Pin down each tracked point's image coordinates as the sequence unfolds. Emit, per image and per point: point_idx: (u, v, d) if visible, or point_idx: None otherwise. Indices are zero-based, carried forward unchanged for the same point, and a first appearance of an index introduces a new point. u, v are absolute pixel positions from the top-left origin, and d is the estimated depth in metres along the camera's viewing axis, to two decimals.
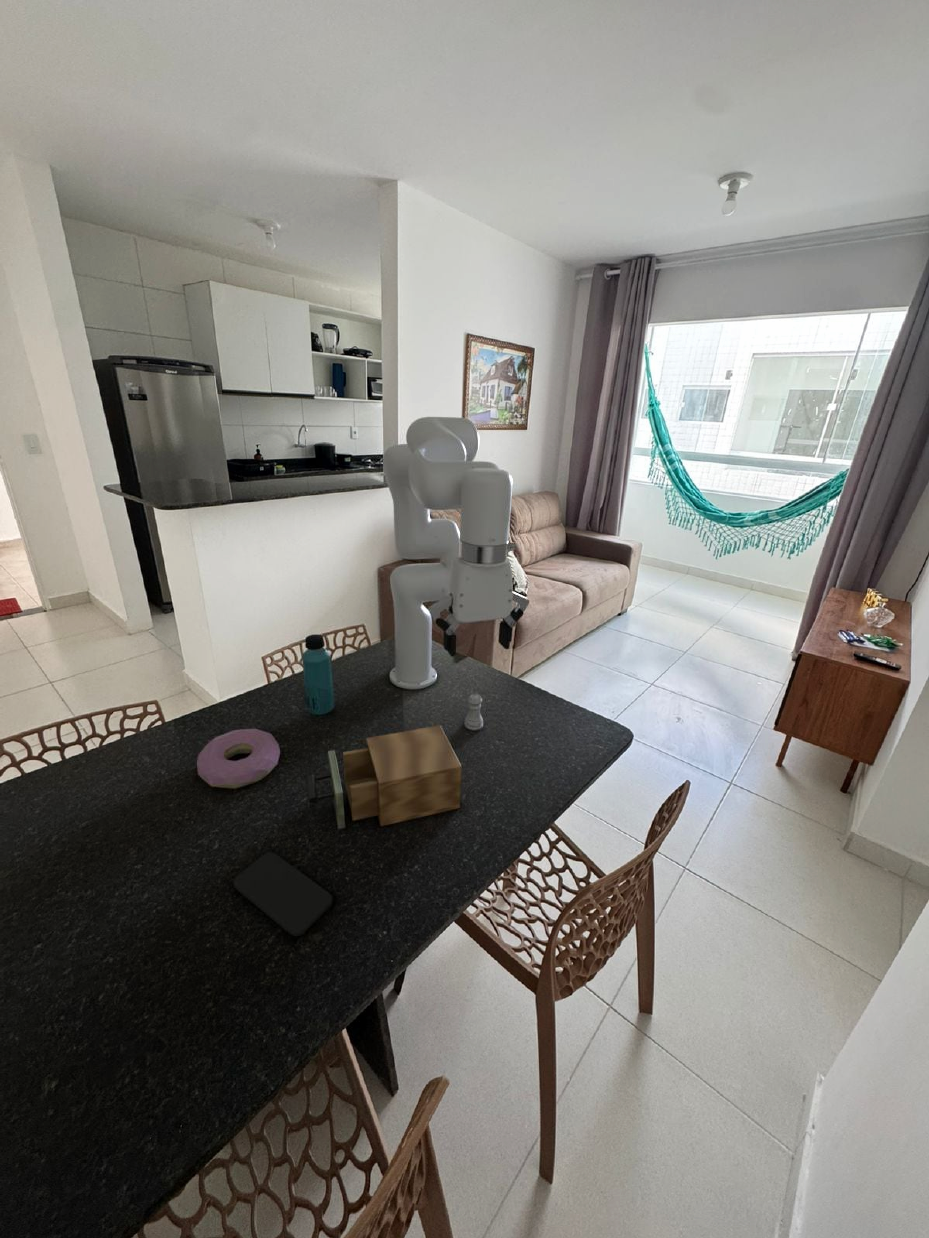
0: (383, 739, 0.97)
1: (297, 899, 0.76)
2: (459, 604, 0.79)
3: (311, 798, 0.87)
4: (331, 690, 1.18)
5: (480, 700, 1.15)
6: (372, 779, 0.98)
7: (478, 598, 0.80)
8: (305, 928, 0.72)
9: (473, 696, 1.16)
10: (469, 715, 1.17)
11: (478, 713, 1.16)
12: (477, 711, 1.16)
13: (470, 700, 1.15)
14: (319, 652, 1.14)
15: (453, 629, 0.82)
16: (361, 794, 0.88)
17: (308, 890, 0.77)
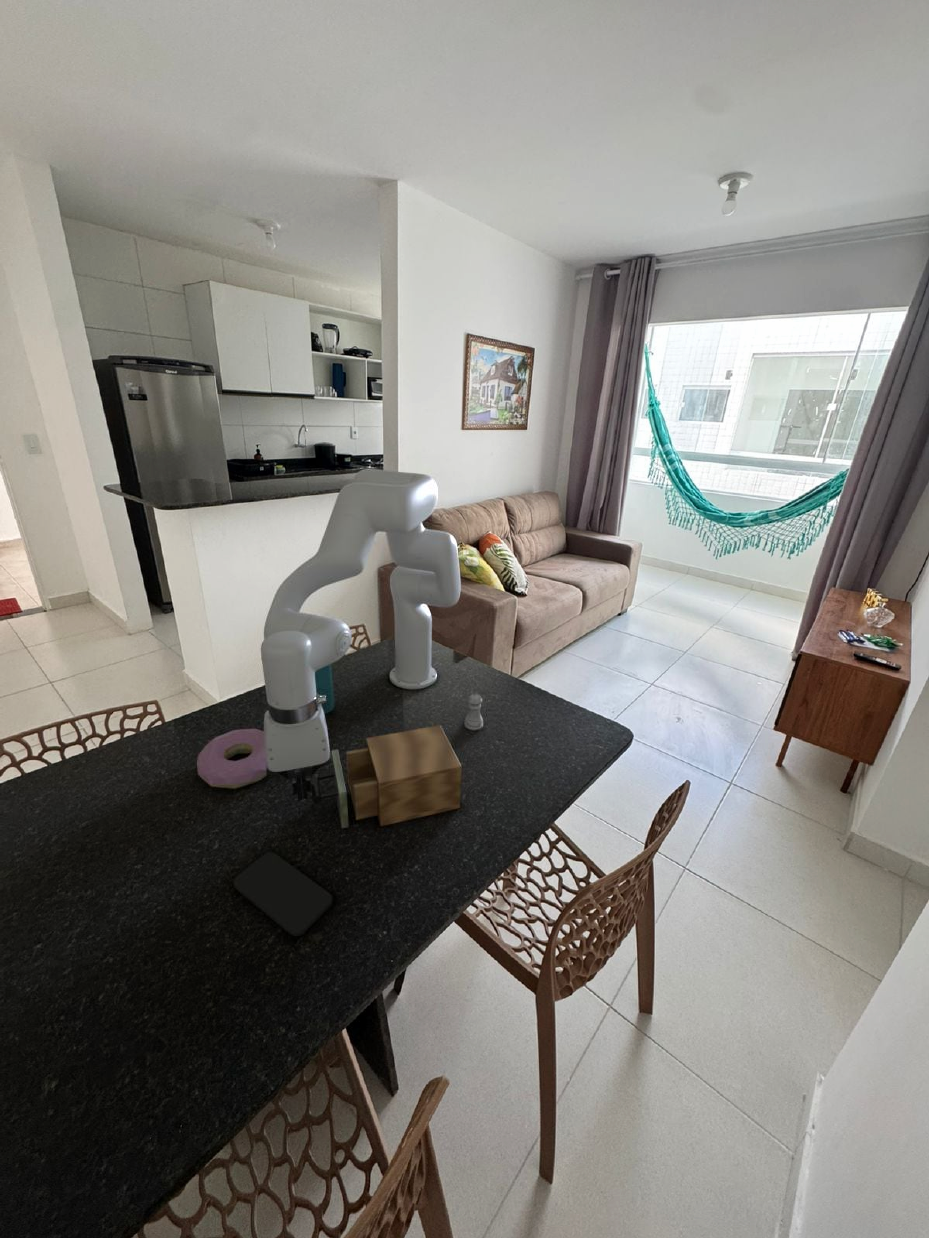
0: (383, 739, 0.97)
1: (297, 899, 0.76)
2: (269, 757, 0.82)
3: (315, 797, 0.87)
4: (331, 690, 1.18)
5: (480, 700, 1.15)
6: (375, 778, 0.98)
7: (288, 751, 0.82)
8: (305, 928, 0.72)
9: (473, 696, 1.16)
10: (469, 715, 1.17)
11: (478, 713, 1.16)
12: (477, 711, 1.16)
13: (470, 700, 1.15)
14: None
15: (297, 778, 0.86)
16: (364, 793, 0.88)
17: (308, 890, 0.77)
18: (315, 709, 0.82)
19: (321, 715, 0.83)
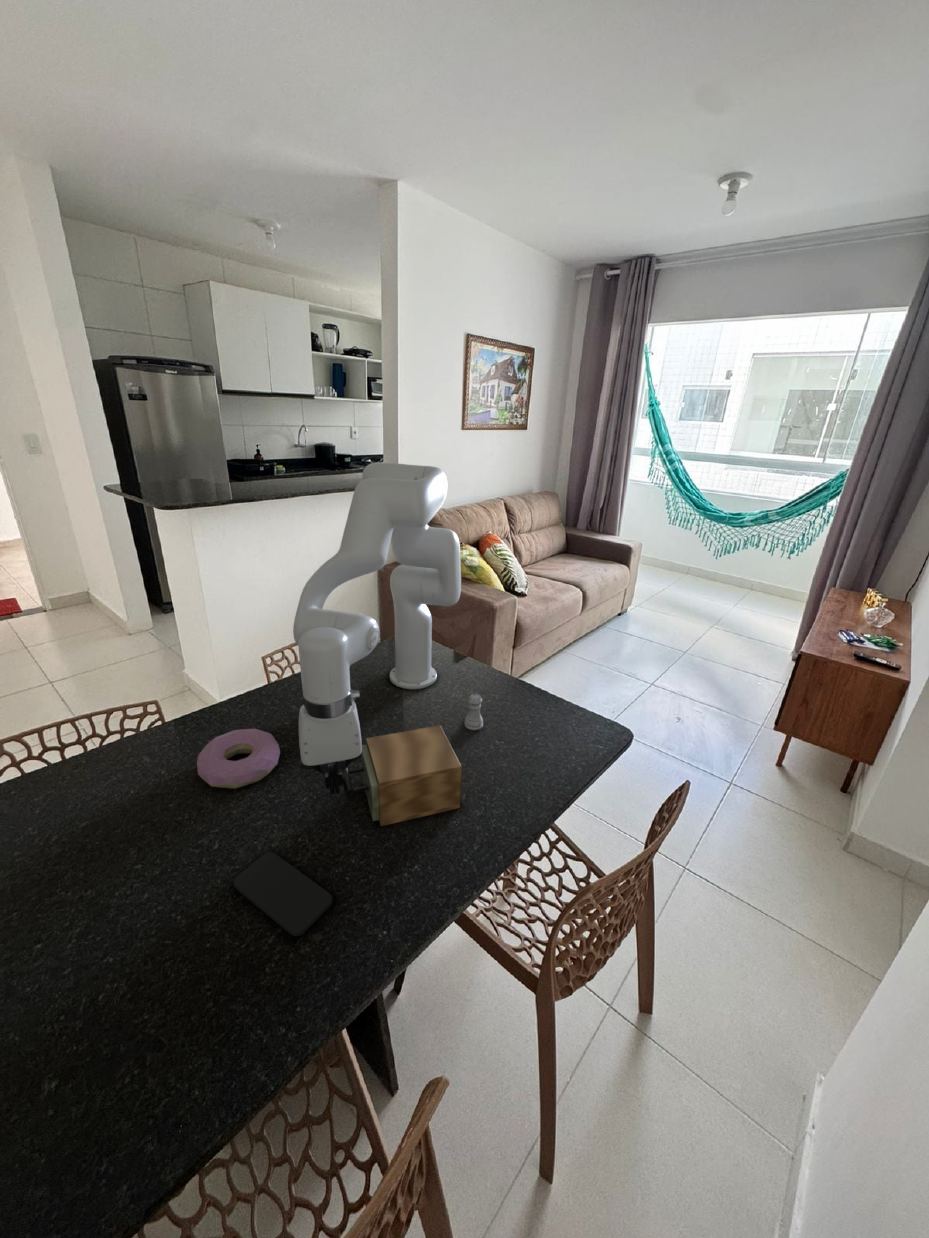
0: (383, 739, 0.97)
1: (297, 899, 0.76)
2: (304, 751, 0.84)
3: (347, 791, 0.89)
4: None
5: (480, 700, 1.15)
6: None
7: (323, 745, 0.84)
8: (305, 928, 0.72)
9: (473, 696, 1.16)
10: (469, 715, 1.17)
11: (478, 713, 1.16)
12: (477, 711, 1.16)
13: (470, 700, 1.15)
14: None
15: (330, 772, 0.88)
16: None
17: (308, 890, 0.77)
18: (349, 704, 0.84)
19: (355, 710, 0.85)
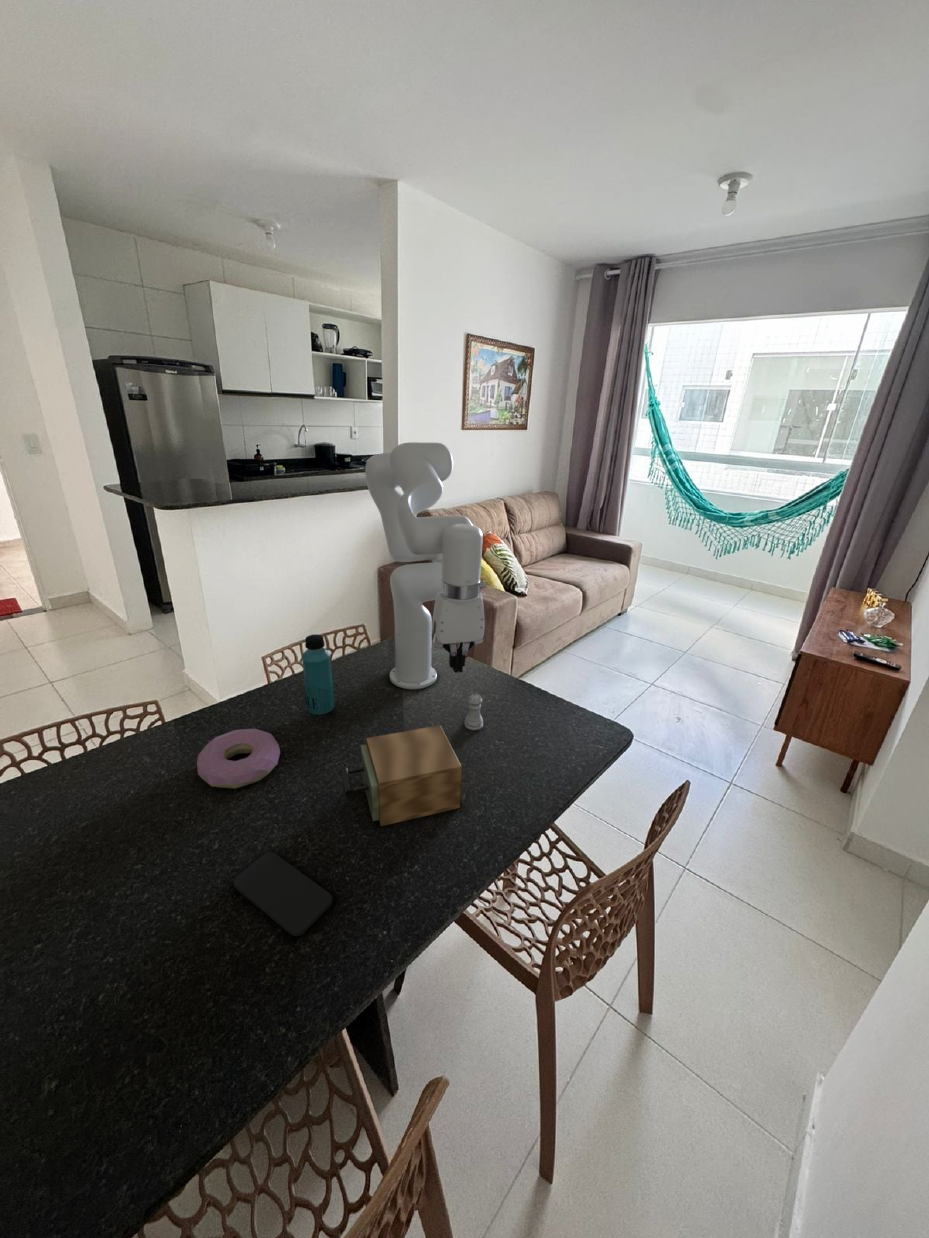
0: (383, 739, 0.97)
1: (297, 899, 0.76)
2: (440, 629, 1.01)
3: (347, 791, 0.89)
4: (331, 690, 1.18)
5: (480, 700, 1.15)
6: None
7: (455, 625, 1.01)
8: (305, 928, 0.72)
9: (473, 696, 1.16)
10: (469, 715, 1.17)
11: (478, 713, 1.16)
12: (477, 711, 1.16)
13: (470, 700, 1.15)
14: (319, 652, 1.14)
15: (456, 652, 1.05)
16: None
17: (308, 890, 0.77)
18: (479, 591, 1.00)
19: None
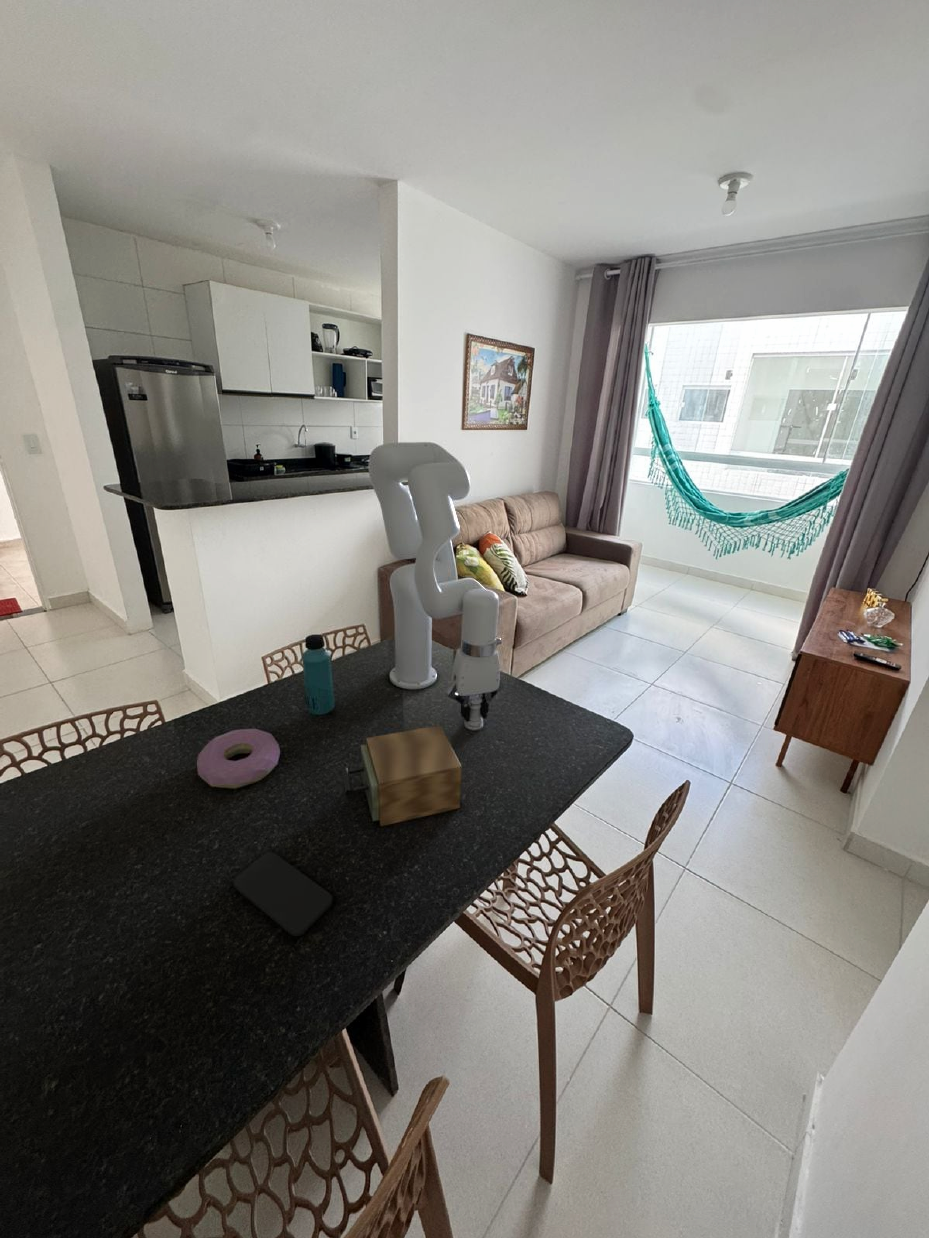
0: (383, 739, 0.97)
1: (297, 899, 0.76)
2: (461, 684, 1.10)
3: (347, 791, 0.89)
4: (331, 690, 1.18)
5: (480, 700, 1.15)
6: None
7: (474, 679, 1.11)
8: (305, 928, 0.72)
9: (473, 696, 1.16)
10: None
11: (478, 713, 1.16)
12: (477, 711, 1.16)
13: (470, 700, 1.15)
14: (319, 652, 1.14)
15: (468, 703, 1.14)
16: None
17: (308, 890, 0.77)
18: (495, 648, 1.10)
19: (497, 653, 1.11)
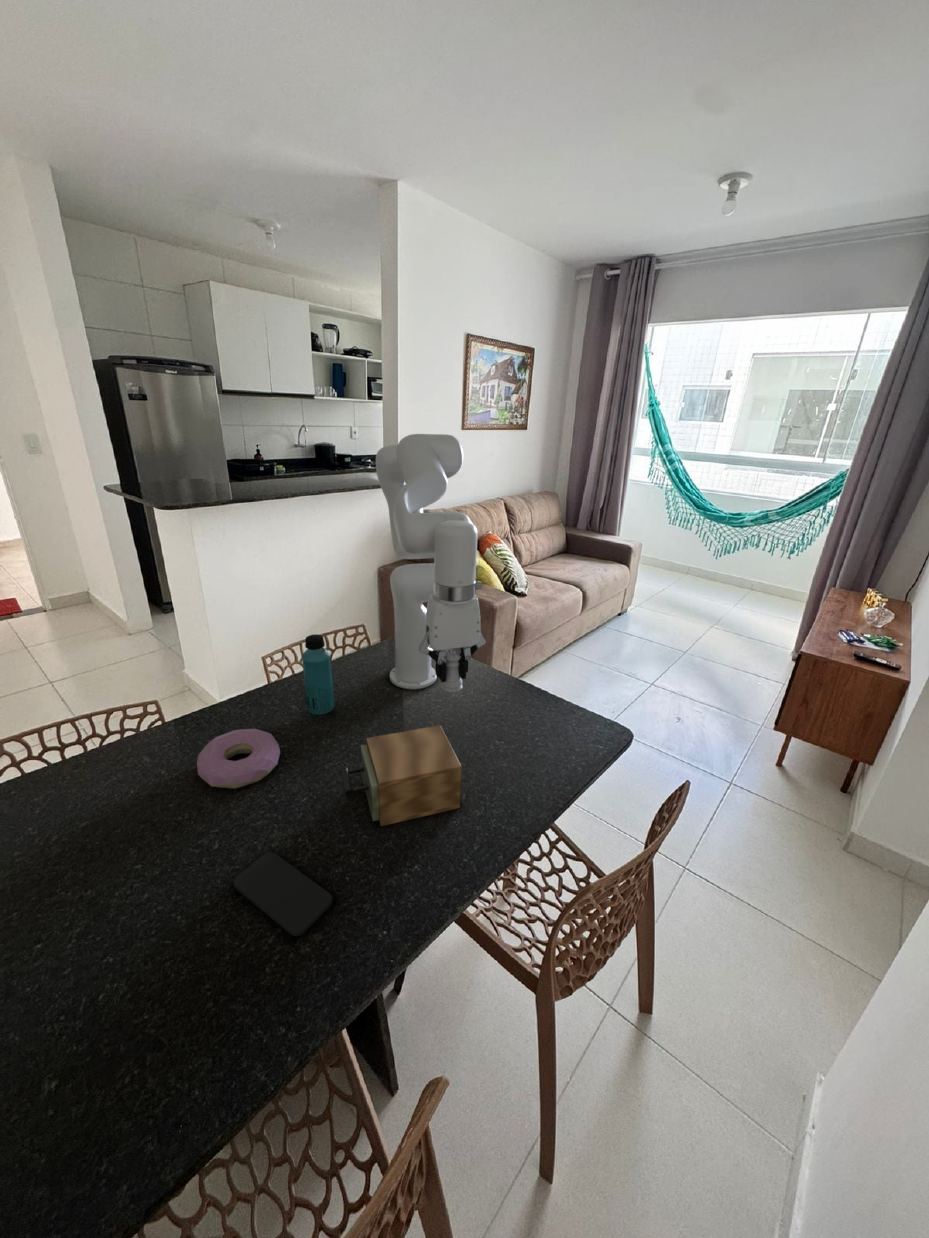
0: (383, 739, 0.97)
1: (297, 899, 0.76)
2: (434, 635, 0.93)
3: (347, 791, 0.89)
4: (331, 690, 1.18)
5: (458, 656, 0.98)
6: None
7: (450, 629, 0.94)
8: (305, 928, 0.72)
9: (450, 652, 0.99)
10: None
11: (456, 672, 0.99)
12: (455, 670, 0.99)
13: (446, 657, 0.98)
14: (319, 652, 1.14)
15: (443, 659, 0.97)
16: None
17: (308, 890, 0.77)
18: (474, 592, 0.93)
19: (477, 599, 0.94)
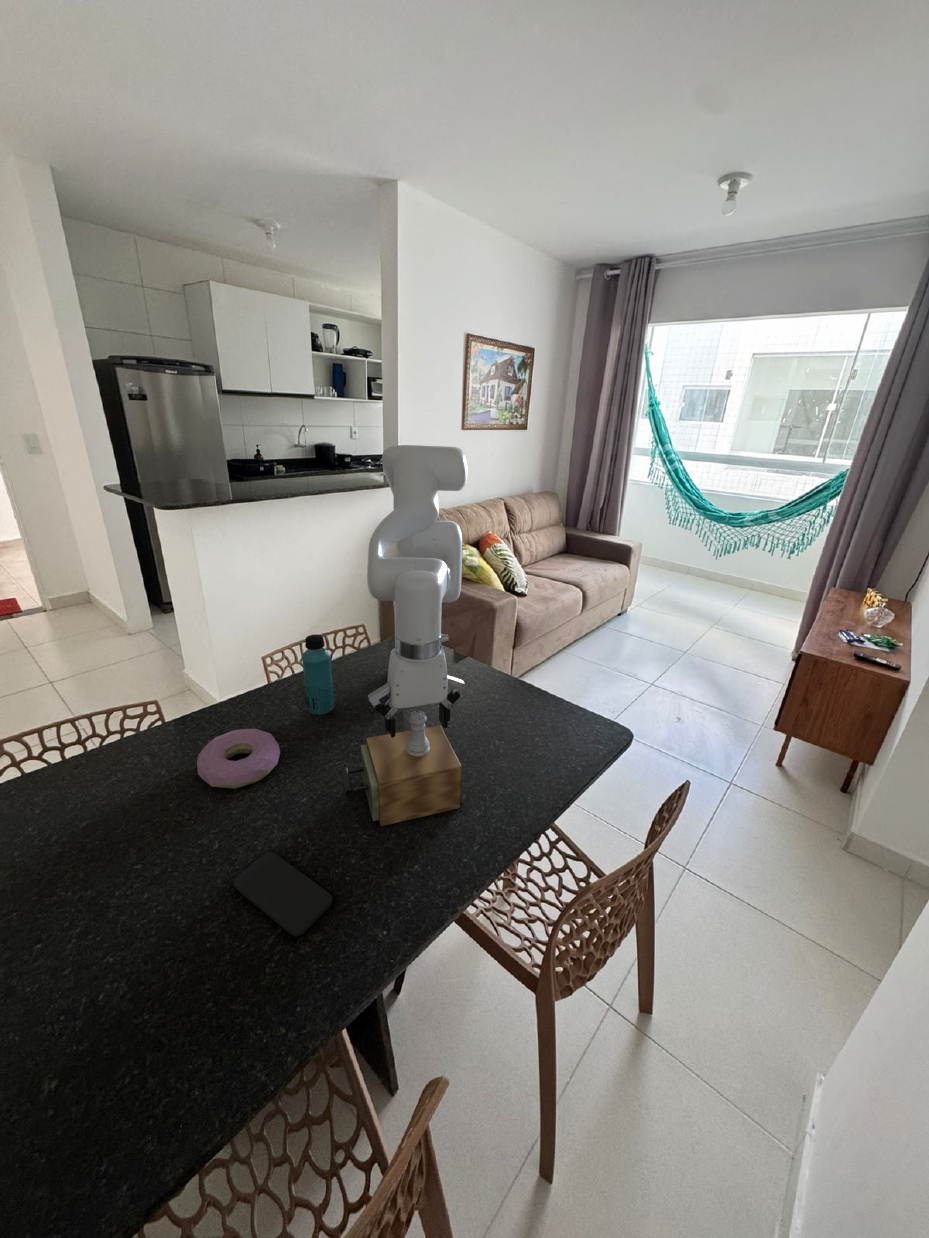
0: (383, 739, 0.97)
1: (297, 899, 0.76)
2: (396, 693, 0.86)
3: (347, 791, 0.89)
4: (331, 690, 1.18)
5: (424, 719, 0.91)
6: None
7: (413, 687, 0.86)
8: (305, 928, 0.72)
9: (415, 714, 0.92)
10: (411, 738, 0.92)
11: (422, 735, 0.92)
12: (420, 733, 0.92)
13: (411, 719, 0.91)
14: (319, 652, 1.14)
15: (392, 714, 0.88)
16: None
17: (308, 890, 0.77)
18: (440, 647, 0.85)
19: None
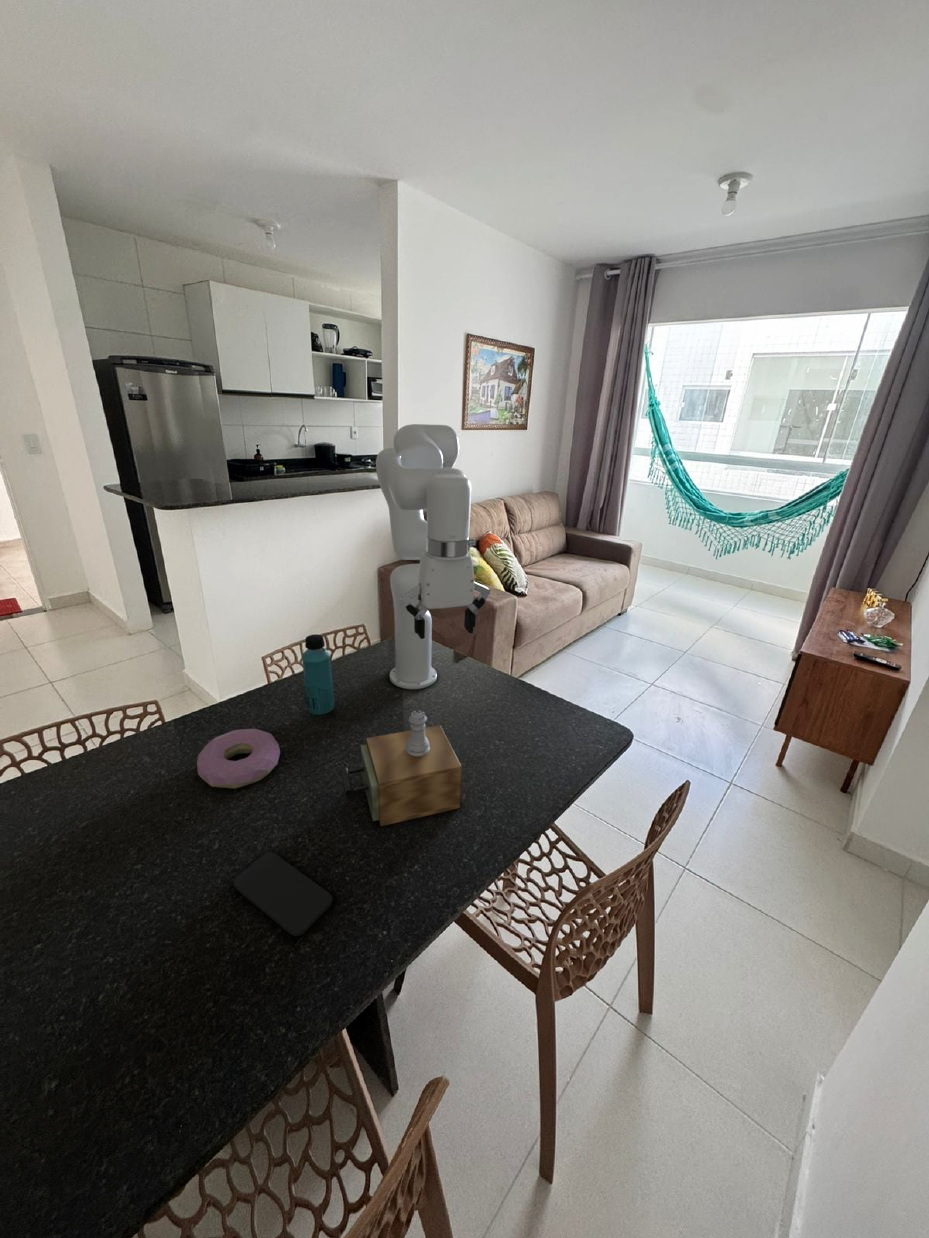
0: (383, 739, 0.97)
1: (297, 899, 0.76)
2: (426, 592, 0.91)
3: (347, 791, 0.89)
4: (331, 690, 1.18)
5: (424, 719, 0.91)
6: None
7: (443, 587, 0.91)
8: (305, 928, 0.72)
9: (415, 714, 0.92)
10: (411, 738, 0.92)
11: (422, 735, 0.92)
12: (420, 733, 0.92)
13: (411, 719, 0.91)
14: (319, 652, 1.14)
15: (422, 615, 0.93)
16: None
17: (308, 890, 0.77)
18: (468, 549, 0.91)
19: (471, 556, 0.92)
